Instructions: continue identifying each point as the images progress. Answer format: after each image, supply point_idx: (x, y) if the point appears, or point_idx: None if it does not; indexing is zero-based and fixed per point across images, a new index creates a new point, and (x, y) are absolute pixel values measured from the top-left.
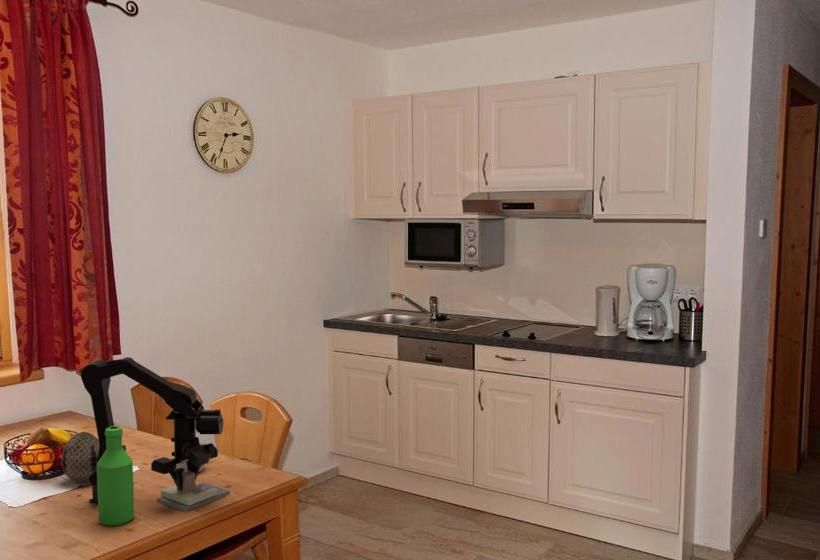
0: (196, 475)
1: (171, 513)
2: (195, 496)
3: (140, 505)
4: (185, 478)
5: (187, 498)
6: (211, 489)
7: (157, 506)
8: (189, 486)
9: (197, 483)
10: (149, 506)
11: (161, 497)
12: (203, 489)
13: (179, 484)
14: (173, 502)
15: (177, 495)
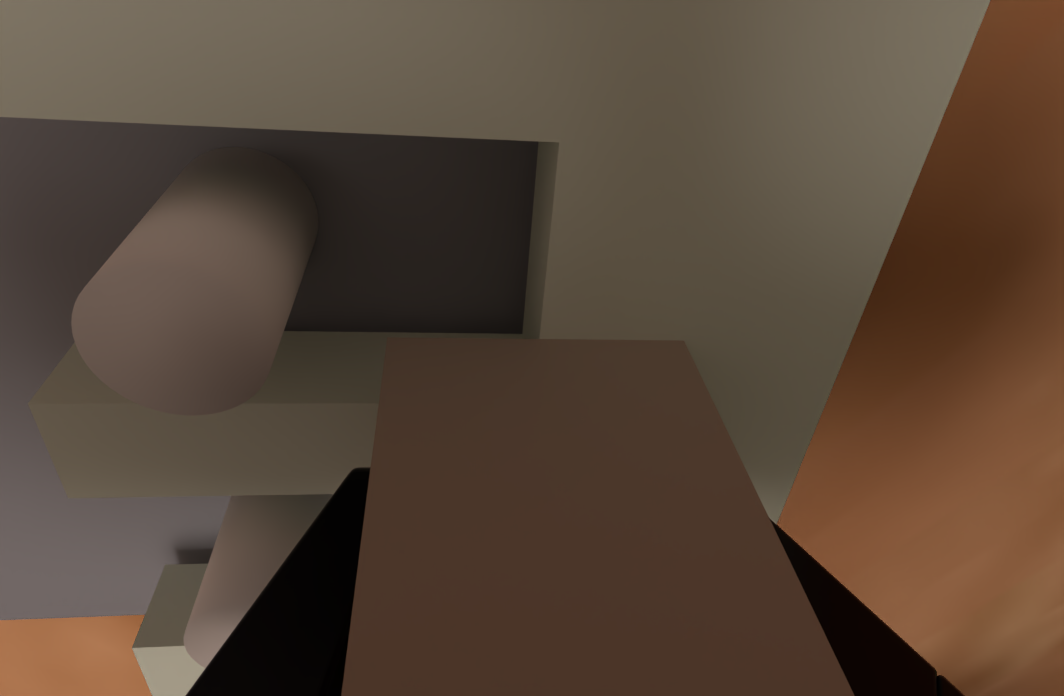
0: (221, 690)
1: (1050, 120)
2: (707, 2)
3: (879, 588)
4: (813, 683)
5: (901, 87)
6: (18, 24)
7: (849, 460)
8: (581, 433)
9: (37, 618)
10: (877, 517)
11: None
12: (221, 220)
13: (827, 585)
14: None
15: (806, 394)
